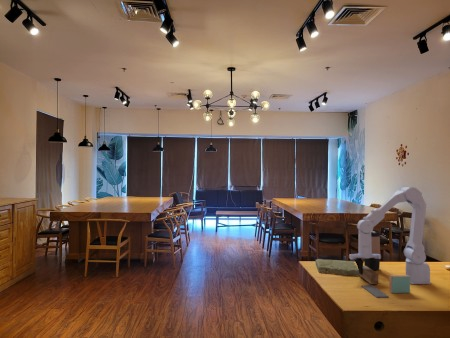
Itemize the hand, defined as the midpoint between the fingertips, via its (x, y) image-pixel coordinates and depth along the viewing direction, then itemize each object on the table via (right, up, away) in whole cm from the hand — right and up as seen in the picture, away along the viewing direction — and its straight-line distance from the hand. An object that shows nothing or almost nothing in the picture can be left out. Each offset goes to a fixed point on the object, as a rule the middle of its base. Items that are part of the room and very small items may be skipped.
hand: (365, 273), depth 154 cm
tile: (+7, -2, -17) cm, 19 cm away
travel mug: (+11, -3, +16) cm, 19 cm away
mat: (-3, -2, -17) cm, 17 cm away
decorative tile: (-8, -3, +15) cm, 18 cm away
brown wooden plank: (0, -2, -3) cm, 3 cm away
